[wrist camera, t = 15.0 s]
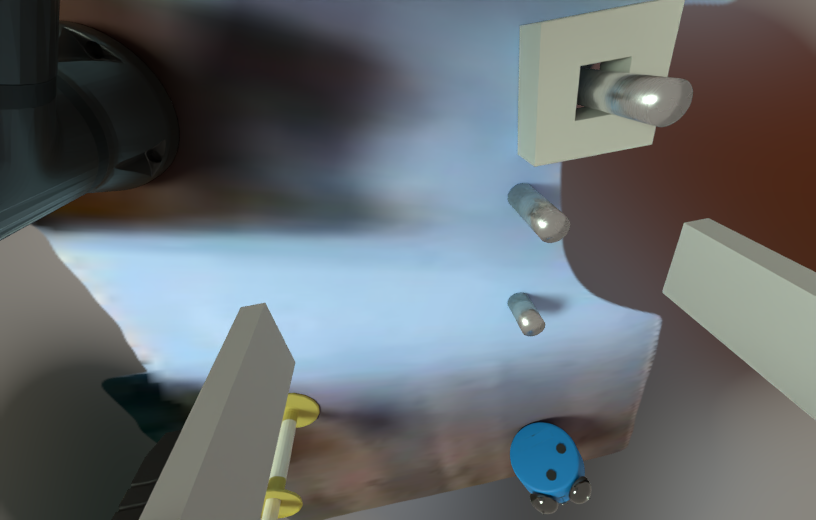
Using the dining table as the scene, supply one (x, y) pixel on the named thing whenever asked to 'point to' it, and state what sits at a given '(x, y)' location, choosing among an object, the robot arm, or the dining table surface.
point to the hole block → (560, 68)
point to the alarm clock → (549, 466)
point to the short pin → (526, 314)
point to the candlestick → (287, 458)
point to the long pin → (635, 95)
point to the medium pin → (538, 213)
